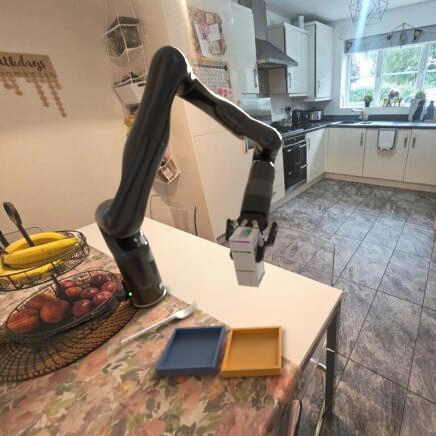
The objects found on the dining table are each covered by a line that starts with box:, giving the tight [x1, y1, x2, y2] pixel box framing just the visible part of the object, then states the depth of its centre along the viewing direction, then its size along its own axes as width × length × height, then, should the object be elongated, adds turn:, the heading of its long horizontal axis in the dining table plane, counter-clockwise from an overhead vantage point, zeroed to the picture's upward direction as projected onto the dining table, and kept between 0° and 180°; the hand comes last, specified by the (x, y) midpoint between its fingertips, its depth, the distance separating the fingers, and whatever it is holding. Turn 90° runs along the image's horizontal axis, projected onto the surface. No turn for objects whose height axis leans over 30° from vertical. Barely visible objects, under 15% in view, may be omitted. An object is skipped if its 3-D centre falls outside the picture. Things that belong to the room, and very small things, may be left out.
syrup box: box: [228, 226, 266, 288], centre depth 62 cm, size 6×6×14 cm
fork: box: [120, 300, 199, 345], centre depth 68 cm, size 3×20×2 cm, turn 127°
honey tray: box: [220, 325, 283, 379], centre depth 59 cm, size 13×11×2 cm
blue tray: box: [154, 325, 227, 377], centre depth 60 cm, size 13×11×2 cm
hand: (245, 261), depth 60 cm, fingers closed on syrup box, 6 cm apart
